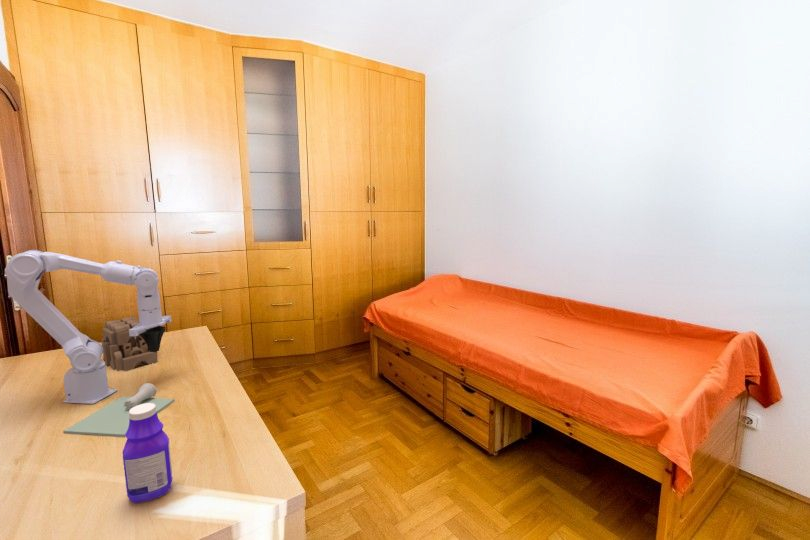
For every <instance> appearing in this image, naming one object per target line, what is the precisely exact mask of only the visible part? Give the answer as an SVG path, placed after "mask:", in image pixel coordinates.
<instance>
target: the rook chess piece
mask: <svg viewBox="0 0 810 540" xmlns="http://www.w3.org/2000/svg"><path fill="white" fill-rule="evenodd" d="M156 394H157V387H156V386H155V384H153V383H149V382H145V383H143V384H142V385H141V386H140V387H139V388H138V390H137V392H136V394H134V395H132V396H130V397H131V398H128V399H127V400H126V401H125V404H124V406H126V409H128V408H129V410H130V409H131V408H133V407H135V406H137V405H138V404H140V402H141V401H143V400H145V399H149V398H154V397H155V395H156Z"/></svg>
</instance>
